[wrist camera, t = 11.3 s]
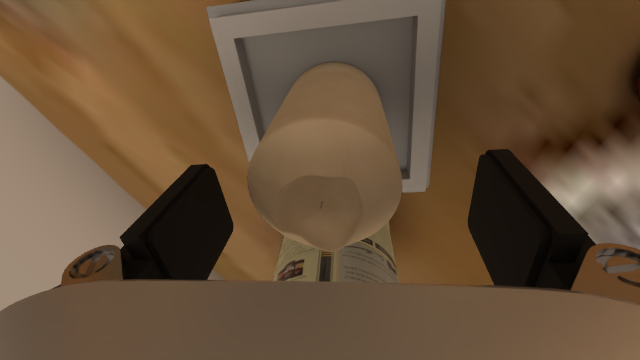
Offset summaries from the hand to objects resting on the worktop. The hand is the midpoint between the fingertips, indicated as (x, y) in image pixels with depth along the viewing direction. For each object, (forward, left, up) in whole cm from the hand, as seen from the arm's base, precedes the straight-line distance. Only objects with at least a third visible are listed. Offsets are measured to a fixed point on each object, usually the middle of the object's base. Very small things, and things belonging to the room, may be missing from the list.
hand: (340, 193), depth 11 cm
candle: (+1, 0, -9) cm, 9 cm away
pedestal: (+1, 0, -13) cm, 13 cm away
